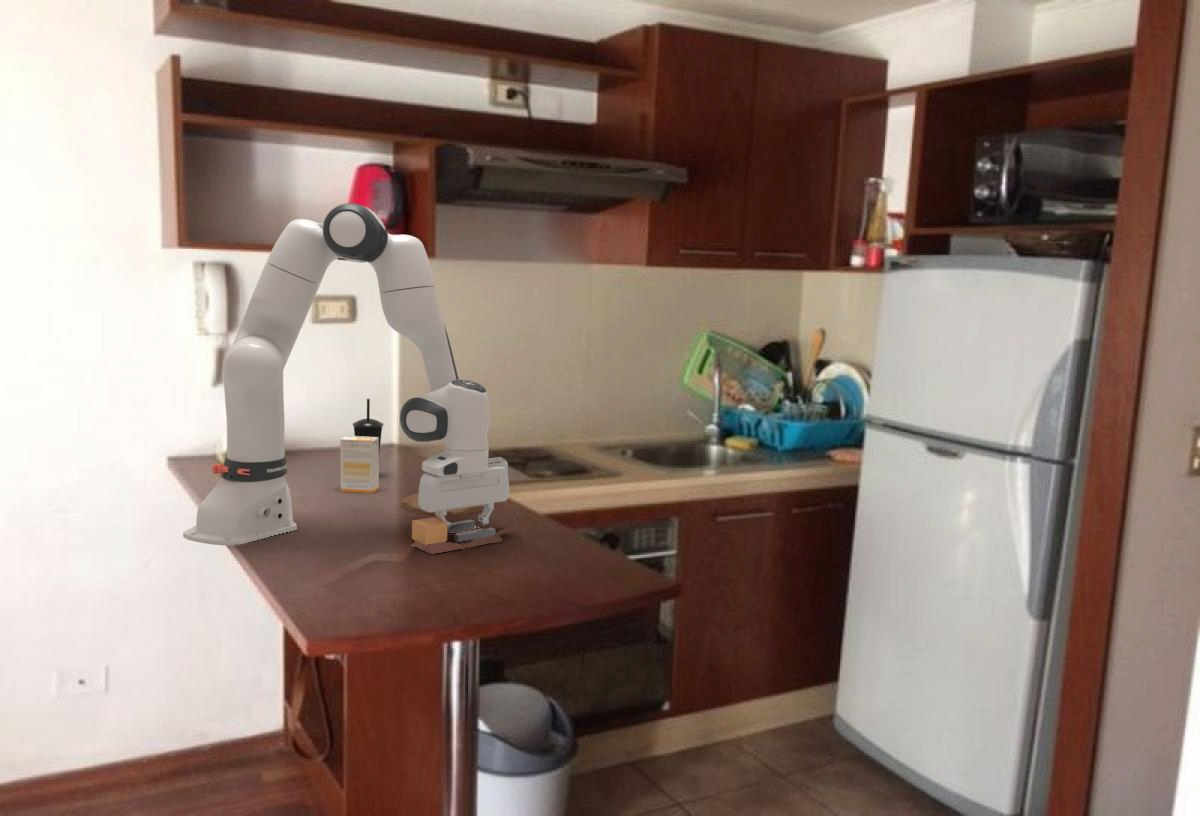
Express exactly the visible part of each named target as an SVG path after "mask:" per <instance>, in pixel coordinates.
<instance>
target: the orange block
mask: <svg viewBox="0 0 1200 816" xmlns="http://www.w3.org/2000/svg"><path fill="white" fill-rule="evenodd" d="M411 539H412V540H413V541H417V542H420V543H422V544H425V545H427V544H434V543H439V542H445V541H448V534H447V522H444V521H442V520H439V519H438V518H437V517H426V518H420V519H415V520H412V521H411Z"/></svg>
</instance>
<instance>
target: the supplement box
mask: <svg viewBox="0 0 1200 816" xmlns="http://www.w3.org/2000/svg"><path fill="white" fill-rule="evenodd" d="M339 450H340V492H349V493H350V492H351V493H365V494H366V493H369V494H373V493H375V492H376V491H378V490H379V489H380V488H379V485H380V484H379V483H380V481H379V480H380V477H379V476H380V475H379V474H380V467H379V461H380V460H379V458H380V452H379V437H364V436H355V435H345V436H343V437H341V438H340V449H339Z"/></svg>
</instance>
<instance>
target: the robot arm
mask: <svg viewBox="0 0 1200 816" xmlns="http://www.w3.org/2000/svg"><path fill="white" fill-rule="evenodd" d="M387 229H388V228H387V226H386V224H385V222H384V220H382V219H381V217H380V216H379V215H378V214H377V213H376V212H375V211H373V210H372V209H370V208H369V207H366V206H363V205H361V204H358V203H354V202H353V203H351V202H346V203H341V204H339V205H337V206H335V207H333V208H332V209H330V211H329V212H328V213H327V215H326V217H325V218H324V220H323V223H319V222H317V221H314V220H311V219H306V218H305V219H304V218H297V219H294V220H292V221H290V222H289V223H288V224H287V225H286V226H285V228H284V229H283V231H282V232H281V233H280V235H279V237H278V238H277V240H276V242H275V244H274V245H273V248H272V249H271V251H270V253H269V256H268V257H267V259H266V262H265V264H264V267H263V269H262V271H261V273H260V276H259V279H258V281H257V283H256V285H255V288H254V290H253V292H252V295H251V298H250V300H249V303H248V305H247V308H246V311H245V313H244V316H243V318H242V321H241V324H240V326H239V328H238V332H237V333H236V335H235V339H234V341H233V343H232V345H231V346H230V347H229V348H228V350H227V351H226V353H225V355H224V358H223V363H222V367H223V368H222V369H223V387H224V388H223V389H224V390H223V392H224V403H225V413H226V414H225V415H226V457H225V458H224V460H223V463H222V464H221V463H217V462H215V463H213V464H212V467H211V471H212V473H213V474H219V475H220V477H221V478H220V480H219V481H218V482H217V483H216V484H215V486H214V487H213V489H211V491H209V493H208V494H207V495H206V497H205V498H204V499H203V500H202V501H201V502H200V504H199V505H198V507H197V513H196V525H195V526H193V527H191V528H189V529H186V530H184V531H183V533H182V538H184V539H185V540H188V541H191V542H196V543H200V544H206V545H207V544H208V545H217V546H227V547H228V546H230V547H231V546H233V545H236V544H243V543H247V542H251V541H255V540H258V539H262V538H266V537H270V536H273V537H275V536H274V535H277V536H279V535H278V534H281V535H283V534H282V533H284V534H287V533H286V532H288V533H290V531H291V532H295V531H297V530H298V524H297V523H296V522H294V518H293V517H294V516H293V507H292V506H293V505H292V496H291V489H290V487H289V485H288V483H287V479H286V475H287V474H288V460H287V456H286V455H285V403H284V401H285V400H284V397H285V396H284V369H285V367H286V364H287V362H288V359H289V357H290V355H291V353H292V351H293V348H294V346H295V344H296V341H297V339H298V337H299V334H300V332H301V329H302V327H303V326H304V323H305V320H306V318H307V316H308V314H309V311H310V309H311V307H312V304H313V302H314V299H315V297H316V295H317V293H318V291H319V288H320V285H321V283H322V281H323V278H324V277H325V276H324V275H325V273H326V271H327V270H328V268H329V266H330V265H331V263H333V262H334V261H335V260H337V261H347V262H353V263H368V264H369V265H370V266H371V267H372V268H373V270H374V272H375V274H376V278H377V283H378V284H377V285H378V290H379V297H380V305H381V308H382V312H383V316H384V318H385V320H386V322H387V325H389V327H391V329H392V330H393V331H395V332H397V333H398V334H400V335H401V336H403V337H406V338H407V339H409V340H410V341H411V342H412V343H413V344H415V346H416V347H417V348H418V350H419V352H420V354H421V356H422V361H423V365H424V369H425V372H426V377H427V381H428V386H429V391H428V392H427V393H423V394H420V395H417V396H413V397H412V398H410V399H408V400H406V402H405V403H404V404H403V406H402V407H401V409H400V413H399V423H400V427H401V429H402V431H403V433H404V434H405V435H406V436H407V437H408V438H409V439H410V440H412V441H414V442H419V443H429V442H433V441H442V442H443V443H444V450H442V451H441V452H439V453H437V454H435V455H434V456H433V455H432V456H431V457H428V458H427V459H425V460H423V461H422V463H421V469H422V471H423V472H425V473H423V474H422V475H421V477H420V480H419V486H418V493H419V495H418V504H419V506H420V508H421V509H422V510H424V511H426V512H429V513H432V512H435V515H434V516H435V518H437V519H439V520H442V521H444V522H447V531H450V530H451V528H450V526H451V523H452V522H450V521H448V520H447V518H446V516H444V515H447V510H451V509H457V508H464V507H470V506H477V505H483V506H484V510H482V511H481V512H482V513H481V514H479V515H478V516H477V519H478V520H477V522H478V524H479V525H481V526H485V525H489V523H490V521H489V520H490V516H491V514H492V512H493V511H494V508H495V504H496V503H502V502H506V501H508V499H509V497H510V481H509V480H510V478H509V474H508V472H509V464H508V463H509V462H508V461H507V460H506V459H504V458H503V457H502V456H498V457H489V451H490V450H489V448H490V447H489V441H488V431H489V428H490V401H489V395H488V391H487V389H486V388H485V387H484V386H483V385H482V384H481V383H478V382H475V381H471V380H466V379H464V380H463V379H459V376H458V375H459V374H458V372H457V366H456V362H455V358H454V355H453V350H452V346H451V343H450V338H449V335H448V331H447V329H446V325H445V323H444V321H443V317H442V315H441V312H440V307H439V306H440V305H439V303H438V297H437V292H436V286H435V281H434V279H435V278H434V275H433V271H432V266H431V263H430V260H429V258H428V257H429V256H428V254H427V251H426V249H425V246H424V244H423V241H421V239H419V238H418V237H415V236H413V235H410V234H390V233H389V232H388V230H387ZM494 503H495V504H494ZM294 530H295V531H294ZM270 538H271V537H270ZM266 539H267V538H266Z"/></svg>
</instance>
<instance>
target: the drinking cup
mask: <svg viewBox="0 0 1200 816" xmlns="http://www.w3.org/2000/svg"><path fill="white" fill-rule="evenodd" d="M370 402H371V399H370V398H366V418H362V419H359V420H357V421H354V422H353V423H352V426H353V430H354V431H353V433H354V435H353V436H364V437H379V453H380V450H381V441H382V431H383V426H384V422H381V421H379V420H377V419H374V418H370V417H371V416H370V414H371V413H370V411H371V410H370V404H371V403H370Z"/></svg>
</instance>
